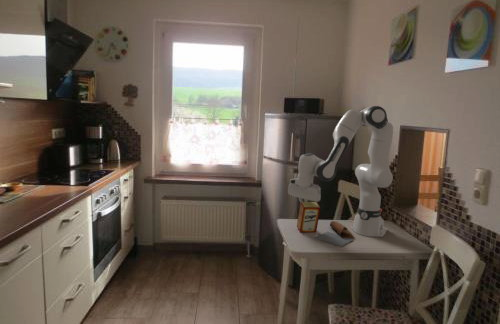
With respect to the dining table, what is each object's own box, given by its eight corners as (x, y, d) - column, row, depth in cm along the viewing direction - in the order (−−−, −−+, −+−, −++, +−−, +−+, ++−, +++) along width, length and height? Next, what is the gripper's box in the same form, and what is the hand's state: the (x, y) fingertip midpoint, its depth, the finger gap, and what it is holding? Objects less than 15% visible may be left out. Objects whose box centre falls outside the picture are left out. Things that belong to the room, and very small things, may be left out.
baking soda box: (299, 232, 185) (303, 206, 180) (296, 226, 191) (300, 201, 186) (316, 232, 187) (320, 206, 182) (312, 226, 193) (316, 201, 188)
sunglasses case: (355, 237, 180) (350, 226, 179) (344, 243, 180) (339, 232, 179) (343, 226, 198) (338, 217, 197) (332, 232, 198) (328, 222, 197)
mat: (327, 232, 188) (327, 231, 188) (353, 240, 178) (353, 239, 178) (314, 237, 178) (314, 236, 178) (341, 247, 168) (341, 245, 168)
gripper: (324, 185, 183) (321, 209, 185) (293, 178, 197) (291, 201, 199) (317, 186, 178) (315, 211, 180) (287, 179, 192) (285, 202, 194)
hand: (302, 205), depth 190 cm, fingers closed
